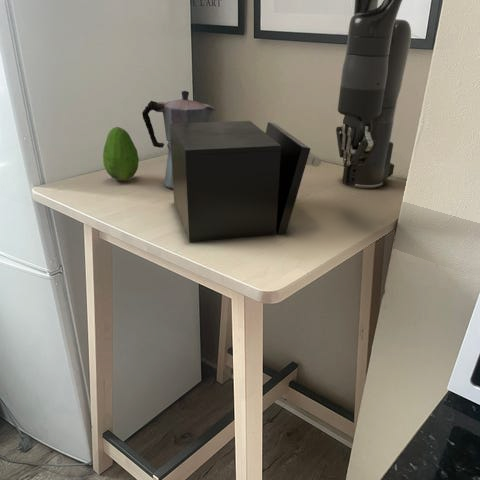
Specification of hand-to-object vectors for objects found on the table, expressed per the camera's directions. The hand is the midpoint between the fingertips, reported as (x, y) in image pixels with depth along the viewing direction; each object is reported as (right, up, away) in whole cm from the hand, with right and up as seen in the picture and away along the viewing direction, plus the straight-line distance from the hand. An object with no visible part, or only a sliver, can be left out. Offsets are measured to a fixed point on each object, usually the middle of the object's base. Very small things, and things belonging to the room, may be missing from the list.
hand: (348, 184), depth 94 cm
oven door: (-14, -5, +5) cm, 16 cm away
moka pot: (-34, +5, +19) cm, 39 cm away
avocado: (-48, +7, +22) cm, 54 cm away
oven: (-24, -6, +3) cm, 25 cm away
